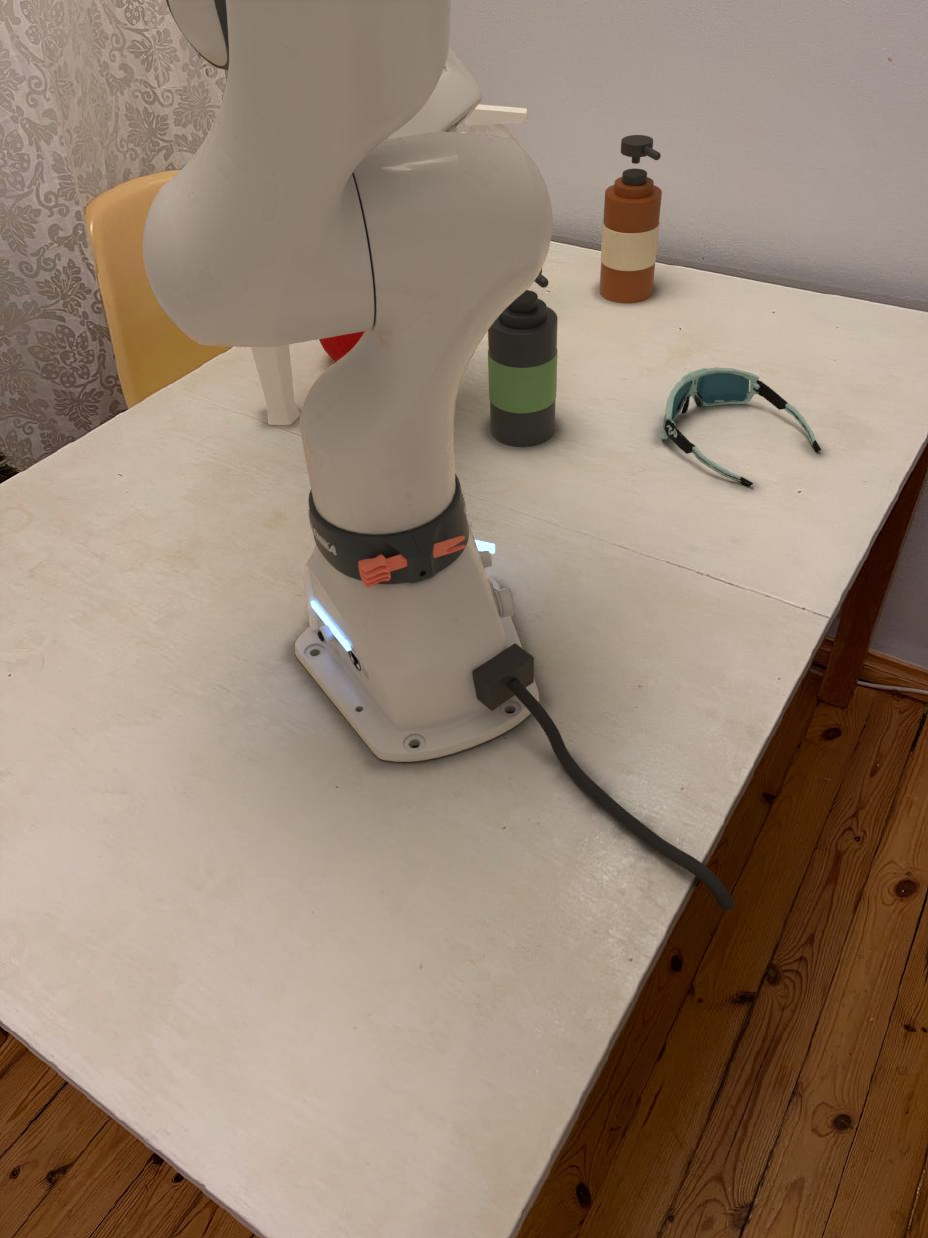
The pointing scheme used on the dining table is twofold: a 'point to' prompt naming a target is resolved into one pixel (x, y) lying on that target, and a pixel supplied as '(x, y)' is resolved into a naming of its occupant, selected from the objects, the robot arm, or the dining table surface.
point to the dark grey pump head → (638, 147)
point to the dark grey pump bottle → (523, 372)
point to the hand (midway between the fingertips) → (471, 181)
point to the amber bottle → (630, 237)
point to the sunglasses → (719, 390)
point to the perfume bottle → (276, 383)
